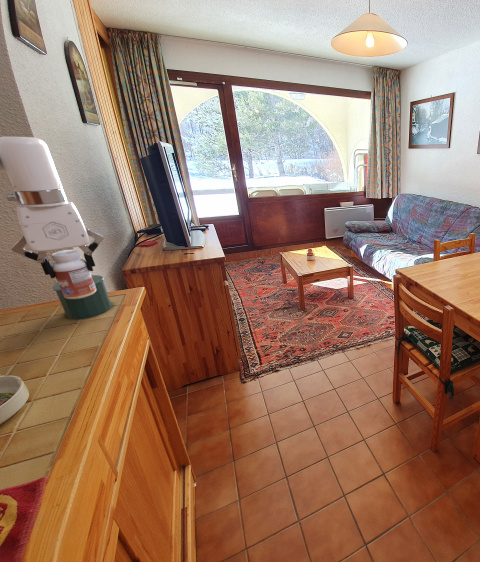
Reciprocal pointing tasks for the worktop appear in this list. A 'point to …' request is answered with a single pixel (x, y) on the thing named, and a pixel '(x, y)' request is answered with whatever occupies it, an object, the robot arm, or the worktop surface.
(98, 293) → the pot
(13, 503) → the worktop surface
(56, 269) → the pill bottle
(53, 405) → the worktop surface
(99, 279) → the pot lid
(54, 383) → the worktop surface
